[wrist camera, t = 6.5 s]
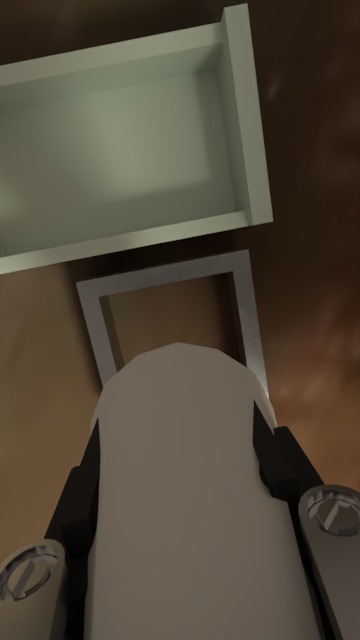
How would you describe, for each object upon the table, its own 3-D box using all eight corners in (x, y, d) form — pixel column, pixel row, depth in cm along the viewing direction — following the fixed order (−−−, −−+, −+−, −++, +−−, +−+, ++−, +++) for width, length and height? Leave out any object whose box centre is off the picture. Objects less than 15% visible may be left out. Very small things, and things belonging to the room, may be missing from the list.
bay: (230, 52, 19) (247, 3, 15) (253, 224, 21) (273, 221, 17) (-191, 135, 19) (-285, 108, 15) (-125, 297, 21) (-192, 311, 17)
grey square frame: (238, 247, 21) (248, 249, 19) (259, 389, 23) (270, 406, 21) (86, 277, 21) (75, 282, 19) (121, 415, 23) (115, 436, 21)
